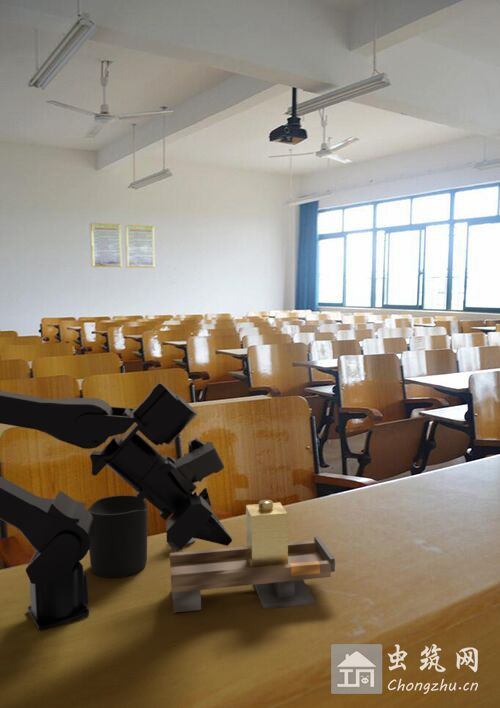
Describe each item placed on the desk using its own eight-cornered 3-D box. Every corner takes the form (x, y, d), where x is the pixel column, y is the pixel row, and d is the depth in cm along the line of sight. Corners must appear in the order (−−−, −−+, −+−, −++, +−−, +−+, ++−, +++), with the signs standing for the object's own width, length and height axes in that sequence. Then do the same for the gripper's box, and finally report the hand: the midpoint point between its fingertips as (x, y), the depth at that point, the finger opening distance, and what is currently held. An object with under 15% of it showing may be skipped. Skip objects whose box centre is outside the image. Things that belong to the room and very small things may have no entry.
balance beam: (172, 618, 74) (171, 575, 74) (170, 586, 83) (169, 547, 82) (336, 601, 77) (335, 559, 77) (317, 572, 86) (317, 534, 86)
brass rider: (252, 573, 78) (250, 508, 77) (247, 559, 82) (245, 498, 82) (288, 569, 78) (287, 505, 78) (281, 556, 83) (279, 495, 82)
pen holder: (161, 564, 91) (159, 502, 90) (111, 586, 84) (108, 519, 83) (126, 549, 97) (123, 491, 96) (76, 568, 90) (73, 506, 89)
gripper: (191, 440, 68) (283, 522, 71) (184, 414, 86) (257, 480, 89) (126, 509, 67) (222, 590, 70) (133, 468, 86) (208, 534, 88)
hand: (229, 542), depth 79 cm, fingers closed
